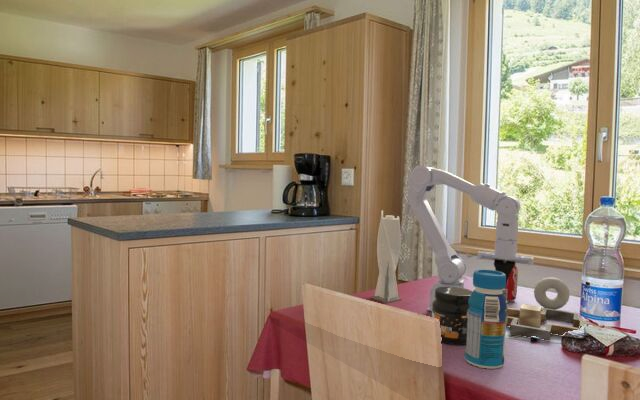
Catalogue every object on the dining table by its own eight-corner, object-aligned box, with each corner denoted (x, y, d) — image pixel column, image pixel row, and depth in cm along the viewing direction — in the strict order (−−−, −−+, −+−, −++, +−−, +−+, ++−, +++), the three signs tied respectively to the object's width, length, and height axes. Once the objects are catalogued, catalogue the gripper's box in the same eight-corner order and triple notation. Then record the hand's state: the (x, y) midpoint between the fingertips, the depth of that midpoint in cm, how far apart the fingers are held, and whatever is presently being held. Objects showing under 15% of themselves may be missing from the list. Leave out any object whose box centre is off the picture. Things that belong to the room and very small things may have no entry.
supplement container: (422, 337, 125) (424, 290, 124) (443, 328, 132) (446, 283, 131) (460, 349, 118) (463, 299, 117) (481, 339, 125) (484, 291, 124)
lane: (488, 330, 132) (489, 317, 132) (501, 309, 152) (502, 298, 152) (583, 347, 122) (584, 333, 121) (584, 322, 142) (585, 310, 142)
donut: (533, 308, 154) (535, 276, 154) (532, 305, 158) (534, 274, 157) (569, 313, 151) (571, 280, 150) (567, 310, 154) (569, 278, 154)
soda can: (512, 297, 167) (515, 261, 166) (518, 303, 160) (521, 266, 159) (490, 296, 168) (493, 260, 167) (496, 301, 161) (498, 264, 160)
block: (518, 326, 137) (520, 308, 137) (521, 321, 141) (522, 303, 141) (538, 329, 135) (540, 311, 134) (540, 324, 139) (541, 306, 139)
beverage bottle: (456, 361, 110) (462, 271, 109) (475, 352, 116) (481, 266, 115) (493, 373, 104) (499, 278, 103) (511, 363, 110) (517, 273, 109)
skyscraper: (367, 296, 161) (371, 209, 159) (384, 293, 166) (388, 209, 164) (386, 303, 155) (391, 212, 153) (404, 299, 160) (408, 211, 158)
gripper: (476, 238, 140) (473, 286, 141) (532, 243, 133) (529, 294, 134) (481, 235, 146) (478, 281, 147) (535, 240, 139) (532, 288, 140)
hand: (503, 287), depth 141 cm, fingers closed
